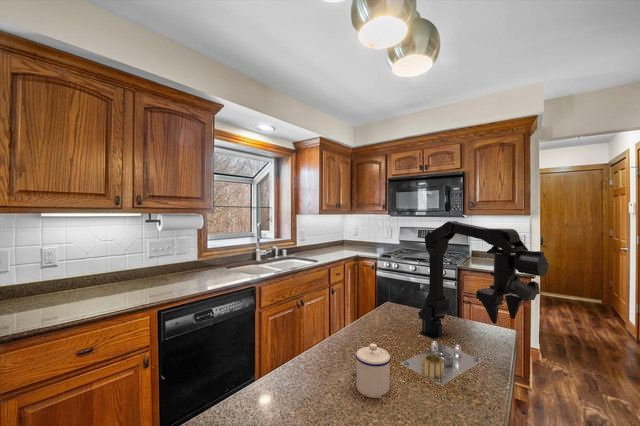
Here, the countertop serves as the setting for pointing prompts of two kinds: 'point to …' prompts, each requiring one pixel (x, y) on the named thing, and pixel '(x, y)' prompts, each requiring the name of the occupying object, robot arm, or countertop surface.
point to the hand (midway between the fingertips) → (503, 320)
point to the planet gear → (432, 366)
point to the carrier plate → (447, 371)
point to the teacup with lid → (372, 371)
